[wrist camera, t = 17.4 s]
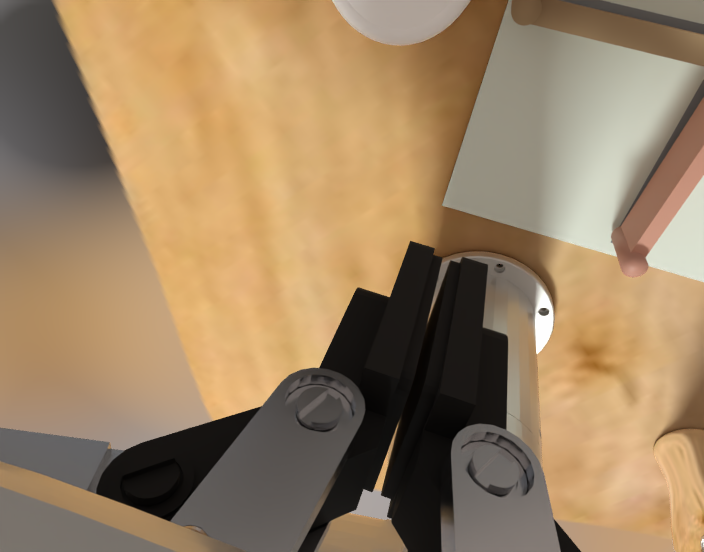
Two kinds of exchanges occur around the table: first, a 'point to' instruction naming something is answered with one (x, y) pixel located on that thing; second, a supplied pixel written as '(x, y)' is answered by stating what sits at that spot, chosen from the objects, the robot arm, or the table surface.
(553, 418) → the table surface
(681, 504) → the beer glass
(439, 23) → the white short round cylinder
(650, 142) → the board
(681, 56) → the fixed panel
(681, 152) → the panel
